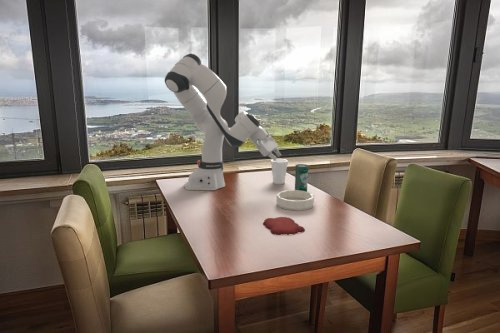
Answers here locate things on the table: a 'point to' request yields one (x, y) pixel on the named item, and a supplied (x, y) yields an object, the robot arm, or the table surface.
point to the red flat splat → (282, 226)
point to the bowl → (295, 200)
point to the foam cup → (279, 170)
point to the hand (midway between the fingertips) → (278, 157)
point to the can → (301, 177)
